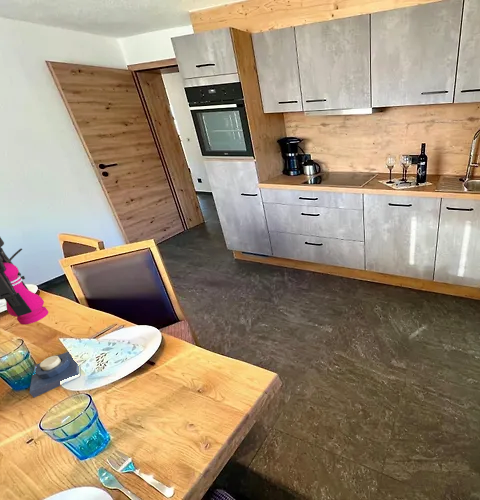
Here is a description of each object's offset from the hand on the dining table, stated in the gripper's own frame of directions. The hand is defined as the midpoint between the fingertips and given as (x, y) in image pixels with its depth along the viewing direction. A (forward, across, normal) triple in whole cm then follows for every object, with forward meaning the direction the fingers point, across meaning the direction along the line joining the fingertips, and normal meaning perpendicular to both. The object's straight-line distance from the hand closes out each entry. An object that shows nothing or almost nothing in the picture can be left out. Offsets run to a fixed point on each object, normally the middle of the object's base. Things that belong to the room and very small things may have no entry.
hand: (26, 306), depth 84 cm
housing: (+19, +11, 0) cm, 22 cm away
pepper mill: (+4, 0, 0) cm, 4 cm away
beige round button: (+15, +11, 0) cm, 19 cm away
